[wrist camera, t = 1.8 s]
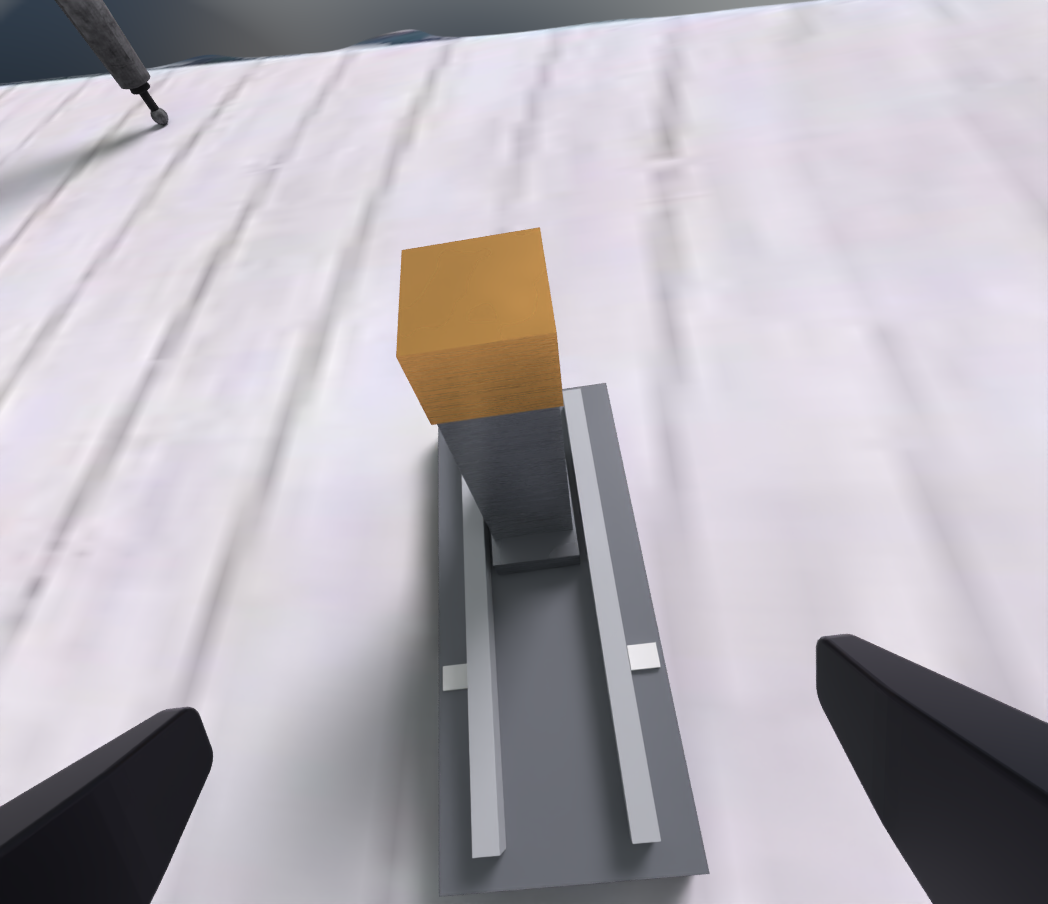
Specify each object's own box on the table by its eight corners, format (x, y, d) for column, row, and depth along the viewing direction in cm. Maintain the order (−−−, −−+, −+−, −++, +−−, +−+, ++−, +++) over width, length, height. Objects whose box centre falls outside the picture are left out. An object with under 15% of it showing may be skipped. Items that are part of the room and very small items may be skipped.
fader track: (697, 860, 17) (717, 882, 14) (455, 881, 17) (427, 907, 14) (605, 407, 26) (606, 366, 23) (448, 429, 26) (431, 391, 23)
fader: (580, 564, 20) (562, 367, 10) (498, 575, 20) (394, 392, 10) (564, 453, 22) (535, 203, 12) (491, 463, 22) (403, 225, 12)
